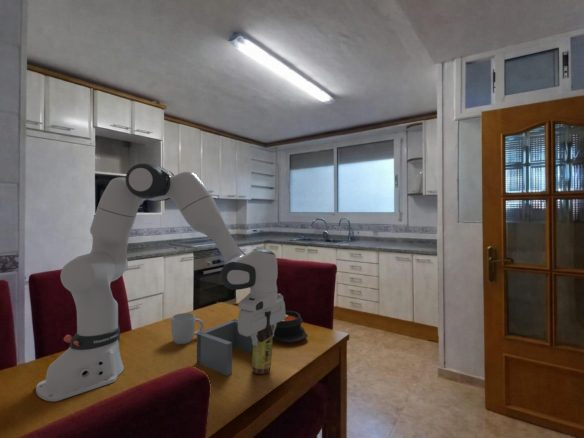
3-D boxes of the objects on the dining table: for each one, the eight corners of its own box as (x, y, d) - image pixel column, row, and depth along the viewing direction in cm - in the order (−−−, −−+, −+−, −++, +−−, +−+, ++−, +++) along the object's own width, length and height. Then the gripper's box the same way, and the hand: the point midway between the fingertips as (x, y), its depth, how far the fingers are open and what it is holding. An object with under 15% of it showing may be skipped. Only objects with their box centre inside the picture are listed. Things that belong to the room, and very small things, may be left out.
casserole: (318, 340, 126) (318, 319, 126) (279, 351, 116) (279, 328, 116) (285, 322, 147) (285, 304, 147) (250, 330, 137) (250, 311, 137)
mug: (173, 347, 118) (173, 321, 118) (169, 339, 126) (169, 315, 126) (206, 340, 125) (206, 316, 125) (200, 333, 133) (200, 310, 132)
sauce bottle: (267, 376, 97) (270, 314, 96) (249, 373, 99) (252, 312, 98) (273, 366, 104) (276, 308, 103) (255, 363, 105) (258, 305, 104)
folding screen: (227, 375, 98) (227, 344, 98) (196, 362, 107) (196, 333, 106) (263, 354, 113) (264, 327, 113) (234, 344, 121) (234, 319, 121)
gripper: (275, 290, 111) (275, 329, 111) (234, 304, 94) (234, 349, 95) (290, 293, 107) (289, 333, 108) (249, 307, 91) (249, 354, 91)
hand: (263, 340), depth 101 cm, fingers closed on sauce bottle, 6 cm apart
